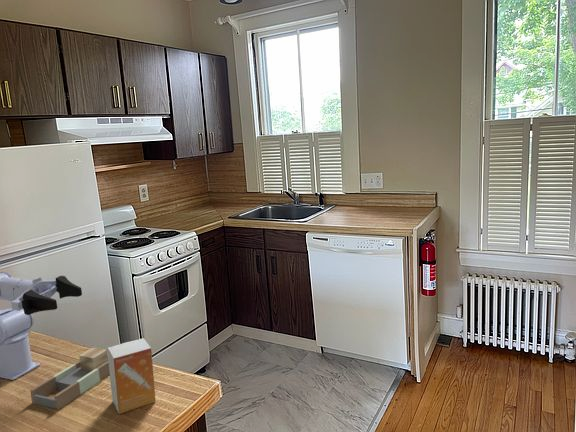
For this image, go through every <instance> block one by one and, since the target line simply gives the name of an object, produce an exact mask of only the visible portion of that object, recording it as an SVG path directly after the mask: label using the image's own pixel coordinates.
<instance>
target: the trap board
mask: <svg viewBox="0 0 576 432" xmlns="http://www.w3.org/2000/svg"><path fill="white" fill-rule="evenodd" d="M108 376H110V372H109V362H108V361H107V362H105V363H104V364H102V365H101V366H99V367H97V368H96V369H94V370H93V371H90V370H85V369H81V366H80V359H79V360H78V361H76V362H75V363H72V364H71V365H70V366H68V367H66V368H64V369H63V370H61V371H59V372H58V373H56V374H54V375H53V376H51V377H49V378H48V379H45V381H43V382H41V383H40V384H39V383H38V385H36V386H34V387H33V388H32V389H30V391H29V392H30V397H31V403H32V404H35V405H38V406H43V407H47V408H50V409H54V410H60V409H62V408H63V407H65V406H66V405H68V404H69V403H70V402H72V401H74V400H75V399H76V398H78V397H79V396H81V395H82V394H83V393H85V392H86V391H88V390H89V389H91V388H92V387H94V386H95V385H97V384H98V383H100V381H102V380H104V379H105V378H107V377H108ZM57 390H58V391H59V392H57V393H56V394H54V398H53V397H48V396H49V395H51V394H52V393H54V392H55V391H57Z"/></svg>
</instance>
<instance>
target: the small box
mask: <svg viewBox="0 0 576 432" xmlns="http://www.w3.org/2000/svg"><path fill="white" fill-rule="evenodd" d="M106 350H107V355H108V362H109V372H110V374H109V382H110V389H111V390H110V391H111V398H112V403H113V405H114V407H115V409H116V412H117V413H118V415H121V414H124V413H126V412H129V411H133V410H135V409H138V408H141V407H144V406H146V405H149V404H154V403H156V392H155V391H156V390H155V389H156V388H155V377H154V363H153V354H152V347H151V346H150V345H149V343H148V342H147V341H146V339H145V338H144V337H143V338H139V339H135V340H131V341H126V342H123V343H120V344H117V345H112V346H109V347H107V348H106Z"/></svg>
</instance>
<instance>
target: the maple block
mask: <svg viewBox="0 0 576 432" xmlns="http://www.w3.org/2000/svg"><path fill="white" fill-rule="evenodd" d="M78 359H79V360H80V366H81V369H85V370H90V371H93V370H94V369H96V368H97V367H99V366H101V365H102V364H104V363H105V362H107V361H108V353H107V349H104V348H98V347H91V348H90V349H88V350H87V351H85V352H82V353H81V354H79V356H78Z"/></svg>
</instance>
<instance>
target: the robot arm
mask: <svg viewBox="0 0 576 432" xmlns="http://www.w3.org/2000/svg"><path fill="white" fill-rule="evenodd" d="M42 279H43V278H42V277H41V276H37V277H35V278H33V279H26V278H19V277H13V276H12V275H11V274H10V273H8V272H5V271H1V272H0V300H2V301H8V302H10V304H11V308H6V309H0V378H2V379H6V380H11V381H15V380H16V379H18V378H21V377H22V376H23V375H25V374H27V373H28V372H31V371H33V370H34V369H36V368H37V367H39V366H41V363H40V362H36V361H33V360H32V353H31V346H30V340H29V334H31V329H32V328H33V326H34V325H35V324H34V323H35V318H34V314H35V313H39V312H46V311H54V310H57V309H58V301H57V299H55V298H52V297H53V296H54V295H55V294H56V293H58V295H59V296H58V297H59V299H60V300H61V299H63V298H69V297H72V298H73V297H74V298H75V297H82V296H83V292H82V290H83V289H82V287H81V286H78V285H76V284H75V283H73V282H71V281H70V280H69V279H68V278H67V277H66V275H59V276H57V277H55V279H52V280H42Z"/></svg>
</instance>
